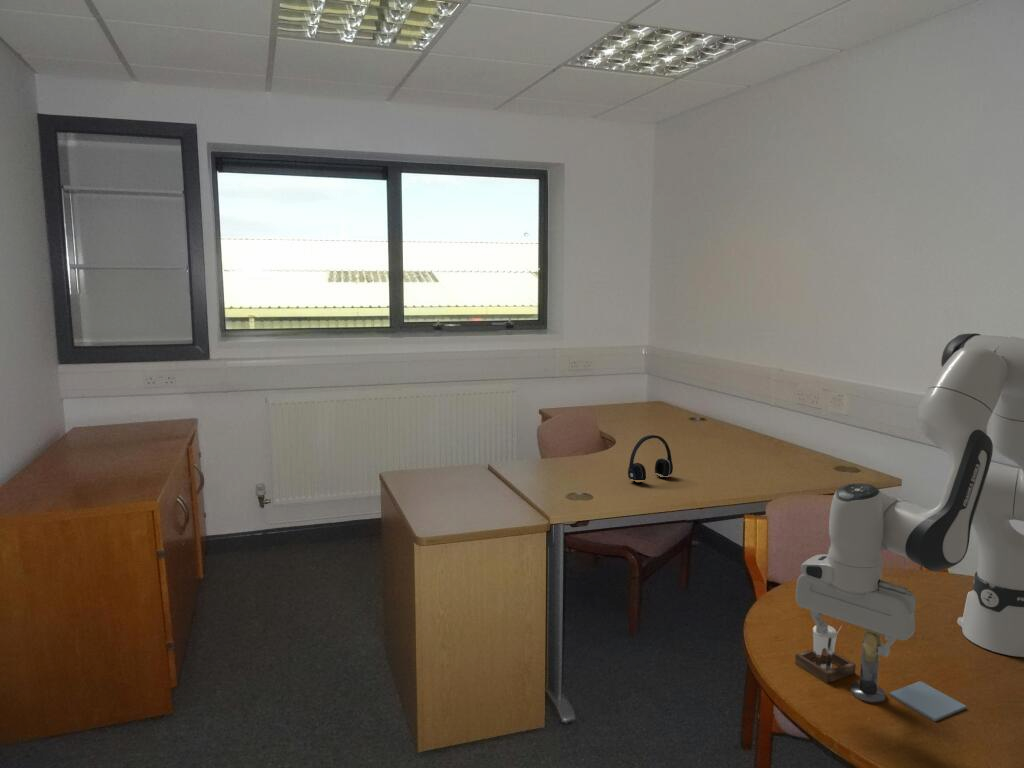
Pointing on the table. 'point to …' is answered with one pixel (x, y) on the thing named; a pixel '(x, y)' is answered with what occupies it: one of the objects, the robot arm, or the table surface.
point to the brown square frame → (827, 676)
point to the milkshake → (824, 647)
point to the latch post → (868, 683)
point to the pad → (927, 701)
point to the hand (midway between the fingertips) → (851, 643)
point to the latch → (871, 645)
